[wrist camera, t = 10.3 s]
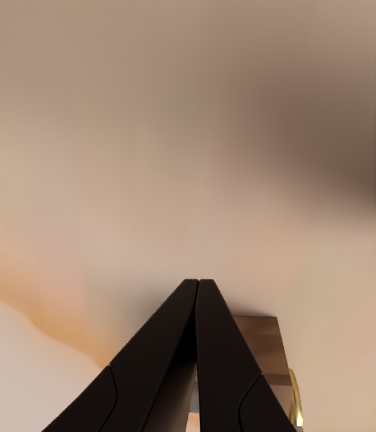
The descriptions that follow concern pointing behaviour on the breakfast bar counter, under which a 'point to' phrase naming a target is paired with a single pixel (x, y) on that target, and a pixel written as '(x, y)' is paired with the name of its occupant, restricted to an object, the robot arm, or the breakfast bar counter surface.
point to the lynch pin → (294, 411)
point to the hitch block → (269, 354)
